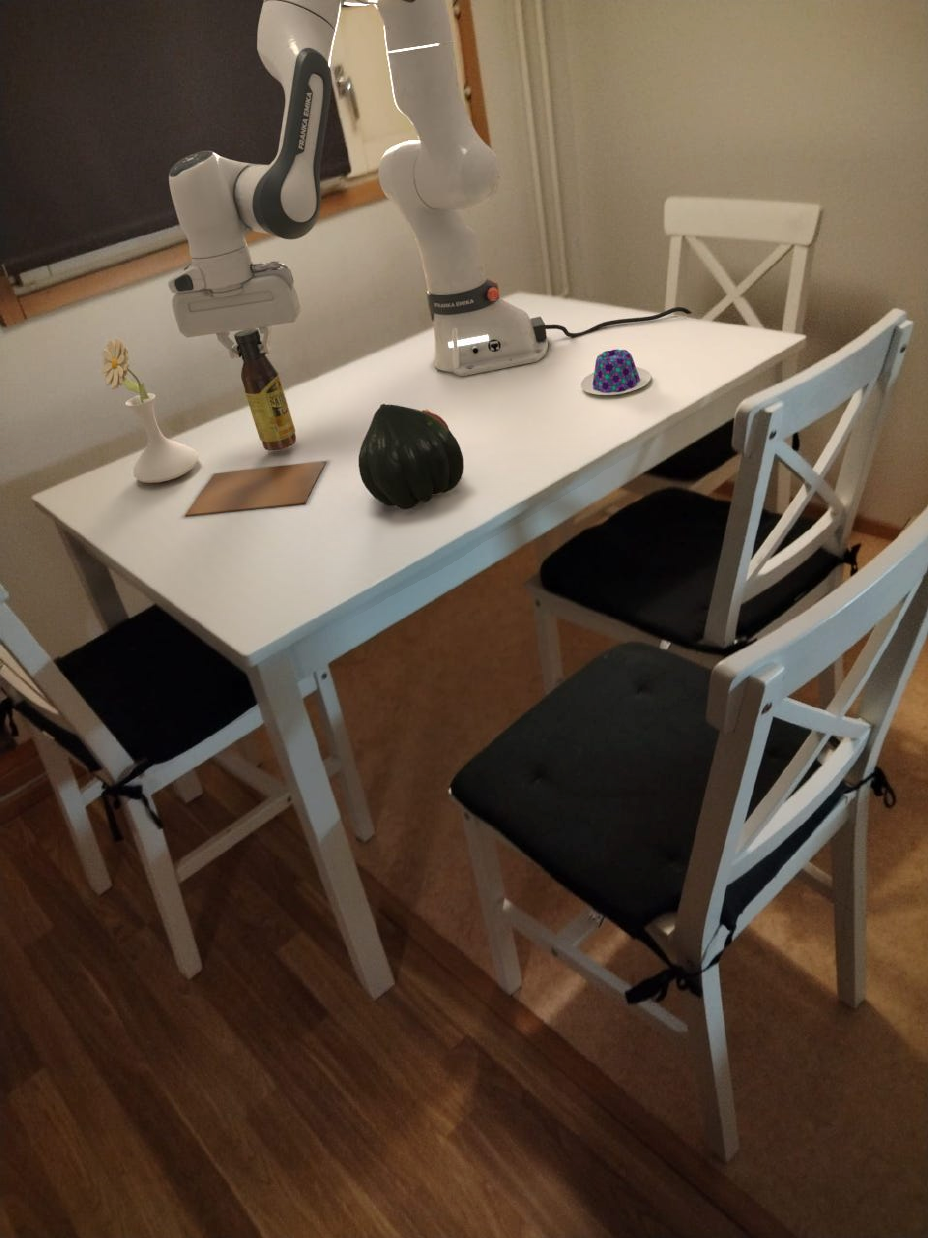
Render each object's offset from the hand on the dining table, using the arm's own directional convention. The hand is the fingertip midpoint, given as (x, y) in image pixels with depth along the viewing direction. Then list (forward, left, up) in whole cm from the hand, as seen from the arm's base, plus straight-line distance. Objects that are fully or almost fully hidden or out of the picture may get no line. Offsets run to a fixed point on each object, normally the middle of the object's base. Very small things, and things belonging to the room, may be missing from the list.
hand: (251, 354), depth 153 cm
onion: (-29, +9, -17) cm, 35 cm away
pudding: (-58, -11, -17) cm, 61 cm away
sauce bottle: (0, 0, -16) cm, 16 cm away
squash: (-28, +22, -17) cm, 40 cm away
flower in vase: (+19, +5, -17) cm, 26 cm away
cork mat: (0, +14, -17) cm, 22 cm away
